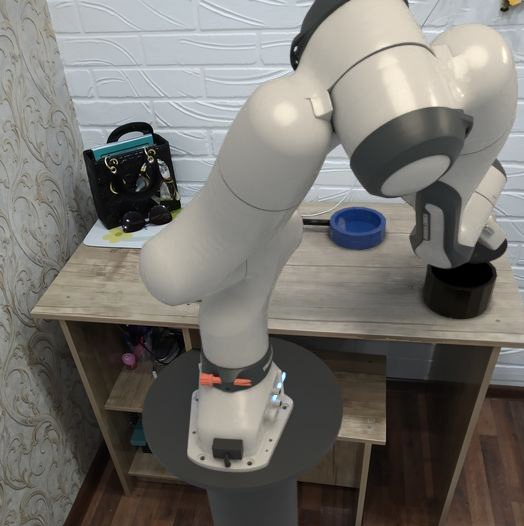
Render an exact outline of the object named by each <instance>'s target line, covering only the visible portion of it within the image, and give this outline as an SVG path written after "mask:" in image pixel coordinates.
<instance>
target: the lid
mask: <svg viewBox="0 0 524 526" xmlns="http://www.w3.org/2000/svg"><path fill="white" fill-rule="evenodd" d="M508 246H509V243H508V239H507V237H506V238H505V240H504V241H503V243H502V244H501V245H500V246H499V247H498V248H497V249H496V250H491V249H489V248H487V247H486V246H484V245H482V244H481V243H479V242H476V244H475V248H474V250H473V253H472V255H471V257H470V260H469V261H468V262H466V263H486V262H490V263H491V262H494V261H495V260H498V259H499V258H501V257H502V256H503V255H505V253H506V252H507V249H508Z"/></svg>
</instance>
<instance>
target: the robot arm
mask: <svg viewBox="0 0 524 526" xmlns="http://www.w3.org/2000/svg"><path fill="white" fill-rule="evenodd" d="M409 3H410V2H409V1H408V0H313V3H312V5H311V6H310V7H309V9H308V10H307V12H306V14H305V16H304V18H303V20H302V23H301V26H300V30H299V33H297V35H295V37H293V39H292V41H291V44H290V49H289V63H290V66H291V68H292V70H293V71H294V72H293V73H291V74H289V75H287V76H279V77H275V78H271V79H268V80H266V81H264V82H263V83H261V84H260V85H259V86H257V87H256V88H255V89H254V90H253V92H252V93H251V94H250V95H249V97H247V99H246V100H245V102H244V103H243V104H242V106H241V108H240V109H239V110H238V112H237V114H236V115H235V117H234V119H233V120H232V122H231V124H230V126H229V128H228V130H227V131H226V133H225V136H224V138H223V140H222V143H221V145H220V148H219V150H218V153H217V155H216V158H215V160H214V163H213V165H212V167H211V170H210V172H209V175H208V176H207V179H206V180H205V182H204V184H202V185H203V186H201V188H200V189H199V190H198V192H196V194H195V195H194V196H193V197H192V198H191V199H190V201H189V202H188V203H187V204H186V205H185V206H184V207H183V208H182V209H181V210H180V212H179V213H178V214H177V215H176V216H175V217H174V218H173V219H172V220H171V221H170V222H168V224H167V225H166V226H165V227H163V228H162V229H161V230H160V231H159V232H157V233H156V234H154V235H153V236H152V237H150V238H149V239H147V241H145V242H144V243H143V244H142V246H141V248H140V251H139V256H138V270H139V275H140V278H141V281H142V283H143V285H144V287H145V289H146V290H147V291H148V292H149V294H150V295H151V296H152V297H153V298H155V299H156V300H157V301H159V302H160V303H162V304H164V305H167V306H169V307H176V306H181V305H186V304H190V303H194V302H198V301H200V304H199V307H198V311H197V323H198V329H199V335H200V341H201V345H200V349H201V355H200V360H201V363H200V364H199V369H200V376H199V389H198V390H196V391H194V392H193V394H192V403H191V414H190V426H189V437H188V449H187V455H188V458H189V459H190V460H191V461H192V462H193V463H195V464H197V465H199V466H202V467H204V468H208V469H212V470H217V471H224V472H250V471H255V470H259V469H262V468H264V467H266V466H267V465H268V463H269V461H270V459H271V457H272V455H273V452H274V450H275V448H276V446H277V443H278V441H279V439H280V436H281V434H282V432H283V430H284V427H285V425H286V423H287V421H288V418H289V416H290V414H291V412H292V409H293V407H294V405H293V401H292V399H291V398H289V397H288V396H287V395H285V394H284V389H283V380H284V378H285V373H283V375H282V372H281V370H280V369H279V368H278V367H277V366H276V364H275V363H274V362H273V361H272V355H273V354H272V353H273V351H272V345H271V341H270V338H269V337H270V336H269V309H270V302H271V299H272V296H273V293H274V290H275V287H276V285H277V283H278V280H279V278H280V275H281V273H282V271H283V269H284V267H285V266H286V264H287V263H288V262H289V260H290V258H291V257H292V256H293V254H294V253H295V252H296V251H297V250H298V248H299V247H300V246H301V245H302V243H303V237H304V225H303V220H302V219H303V217H302V214H301V212H300V209H299V207H300V205H301V204H302V202H303V201H304V200H305V198H306V197H307V195H308V194H309V192H310V190H311V189H312V187H313V186H314V184H315V182H316V180H317V178H318V177H319V174H320V173H321V170H322V168H323V165H324V164H325V161H326V159H327V156H328V155H329V154H330V153H331V152H332V151H333V150H335V149H336V148H337V147H338V146H340V145H341V146H342V149H343V150H344V152H345V154H346V156H347V158H348V159H349V167H350V168H349V169H351V172H352V173H353V175H354V177H355V178H356V179H357V182H358V183H359V184H360V185H361V186H362V188H363V189H364V191H366V193H368V195H371V196H374V197H378V198H382V199H398V198H400V199H401V200H402V201H403V202H405V203H406V204H408V205H409V206H411V207H412V209H413V210H414V212H415V224H414V226H413V228H412V230H411V231H410V233H409V236H408V239H409V243H410V247H411V249H412V251H413V253H414V255H415V256H416V257H417V258H419V259H420V260H422V261H423V262H424V263H426V264H430V265H432V266H435V267H439V268H443V269H452V268H455V267H458V266H460V265H462V264H464V263H466V262H468V261H469V260H470V257H471V255H472V253H473V250H474V248H475V244H476V242H479V243H481V244H482V245H484V246H486V247H487V248H489V249H491V250H496V249H497V248H498V247H499V246H500V245H501V244H502V243H503V241H504V240H505V238H506V239H507V236H508V234H507V232H506V231H505V230H504V229H503V228H502V227H501V226H500V225H499V224H498V223H497V222H496V221H495V220H494V219H493V220H492V219H491V218H489V216H490V215H492V213H493V210H494V208H495V206H496V204H497V203H498V200H499V198H500V196H501V194H502V192H503V190H504V188H505V186H506V183H507V182H508V177H507V172H506V170H505V168H504V167H503V165H502V164H501V161H499V160H498V156H499V154H500V153H501V152H502V150H503V148H504V146H505V145H506V142H507V140H508V138H509V136H510V134H511V132H512V129H513V128H514V127H513V126H514V124H515V120H516V116H517V110H518V100H519V83H518V82H519V81H518V73H517V68H516V67H517V66H516V63H515V59H514V58H515V57H514V56H513V53H512V48H511V46H510V45H509V43H508V41H507V40H506V38H505V36H504V35H503V34H501V32H500V31H498V30H497V29H495V28H494V27H492V26H490V25H487V24H484V23H479V22H466V23H460V24H457V25H453V26H451V27H449V28H447V29H445V30H444V31H442V32H440V33H439V34H438V35H436V36H435V37H434V39H432V40H431V41H430V42H429V41H428V39H427V37H426V35H425V33H424V31H423V29H422V28H421V26H420V24H419V23H418V21H417V18H415V15H414V14H413V13H412V11H411V9H410V4H409ZM202 299H203V300H202ZM284 408H285V409H284ZM201 459H204V460H201ZM248 464H252V465H250V466H249V465H248Z"/></svg>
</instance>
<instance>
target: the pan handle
mask: <svg viewBox="0 0 524 526" xmlns="http://www.w3.org/2000/svg"><path fill="white" fill-rule="evenodd" d="M302 220H303V226H313V227H314V226H315V227H316V226H317V227H330V219H325V218H324V219H321V218H318V219H317V218H302Z"/></svg>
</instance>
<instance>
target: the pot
mask: <svg viewBox="0 0 524 526" xmlns="http://www.w3.org/2000/svg"><path fill="white" fill-rule="evenodd" d="M426 264H427V265H426V271H425V275H424V282H423V287H422V300H423V302H424V304H425V305H426V308H428V309H430V311H432V312H434V313H435V314H437V315H439V316H442V317H445V318H449V319H455V320H467V319H468V320H469V319H473V318H476V317H479V316H481V315H482V314H484V313H485V312H486V311H487V310H488V307H489V306H490V303H491V300H492V297H493V293H494V289H495V285H496V282H497V279H498V278H497V277H498V273H497V268H496V267H495V265H494V264H493V263H492V262H491V261H490V262H486V263H464V264H462V265H460V266H458V267H455V268H452V269H443V268H439V267H435V266H432V265H430V264H428V263H426Z"/></svg>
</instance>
